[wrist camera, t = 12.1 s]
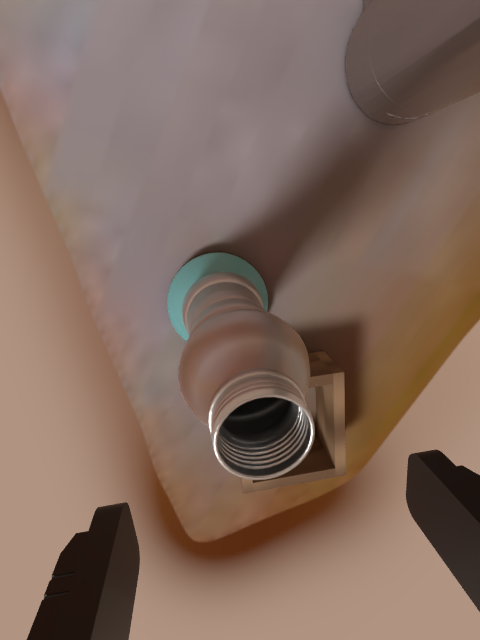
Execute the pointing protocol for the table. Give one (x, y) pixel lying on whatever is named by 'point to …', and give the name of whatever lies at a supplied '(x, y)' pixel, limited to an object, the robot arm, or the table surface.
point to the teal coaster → (198, 270)
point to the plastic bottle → (245, 378)
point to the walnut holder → (318, 430)
